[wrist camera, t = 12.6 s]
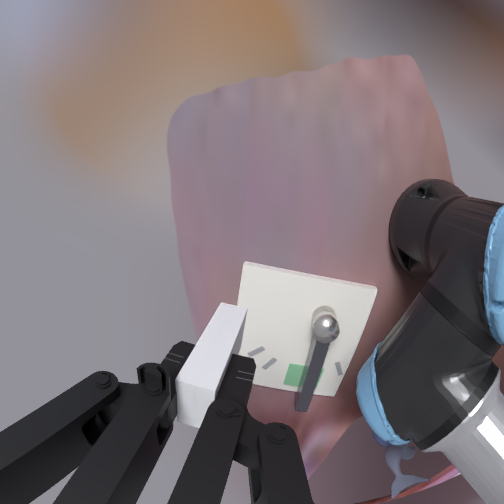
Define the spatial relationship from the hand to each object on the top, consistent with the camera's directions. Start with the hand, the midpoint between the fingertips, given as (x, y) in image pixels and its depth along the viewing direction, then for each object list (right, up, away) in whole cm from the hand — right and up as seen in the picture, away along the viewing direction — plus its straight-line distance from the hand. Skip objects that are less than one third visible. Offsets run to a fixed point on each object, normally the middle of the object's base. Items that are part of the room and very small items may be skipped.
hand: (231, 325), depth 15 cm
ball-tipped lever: (+11, -13, +25) cm, 30 cm away
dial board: (+8, -9, +27) cm, 30 cm away
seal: (+32, -32, +30) cm, 54 cm away
